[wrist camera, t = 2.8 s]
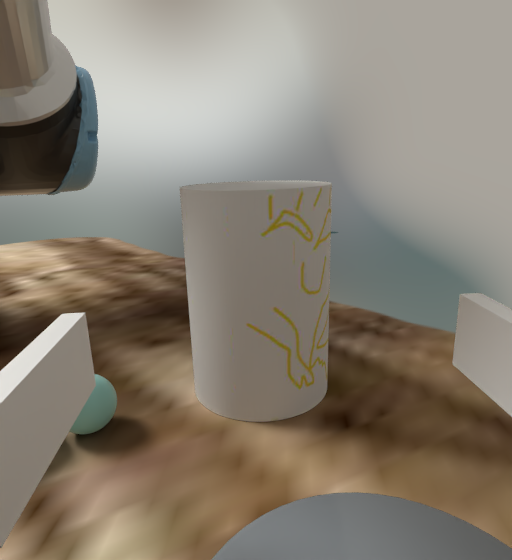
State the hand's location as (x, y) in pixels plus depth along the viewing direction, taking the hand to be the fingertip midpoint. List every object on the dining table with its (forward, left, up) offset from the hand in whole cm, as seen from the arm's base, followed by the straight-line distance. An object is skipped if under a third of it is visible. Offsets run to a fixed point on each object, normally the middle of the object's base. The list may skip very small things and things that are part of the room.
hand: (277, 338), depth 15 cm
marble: (-8, -7, -7) cm, 13 cm away
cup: (-9, +3, -7) cm, 12 cm away
